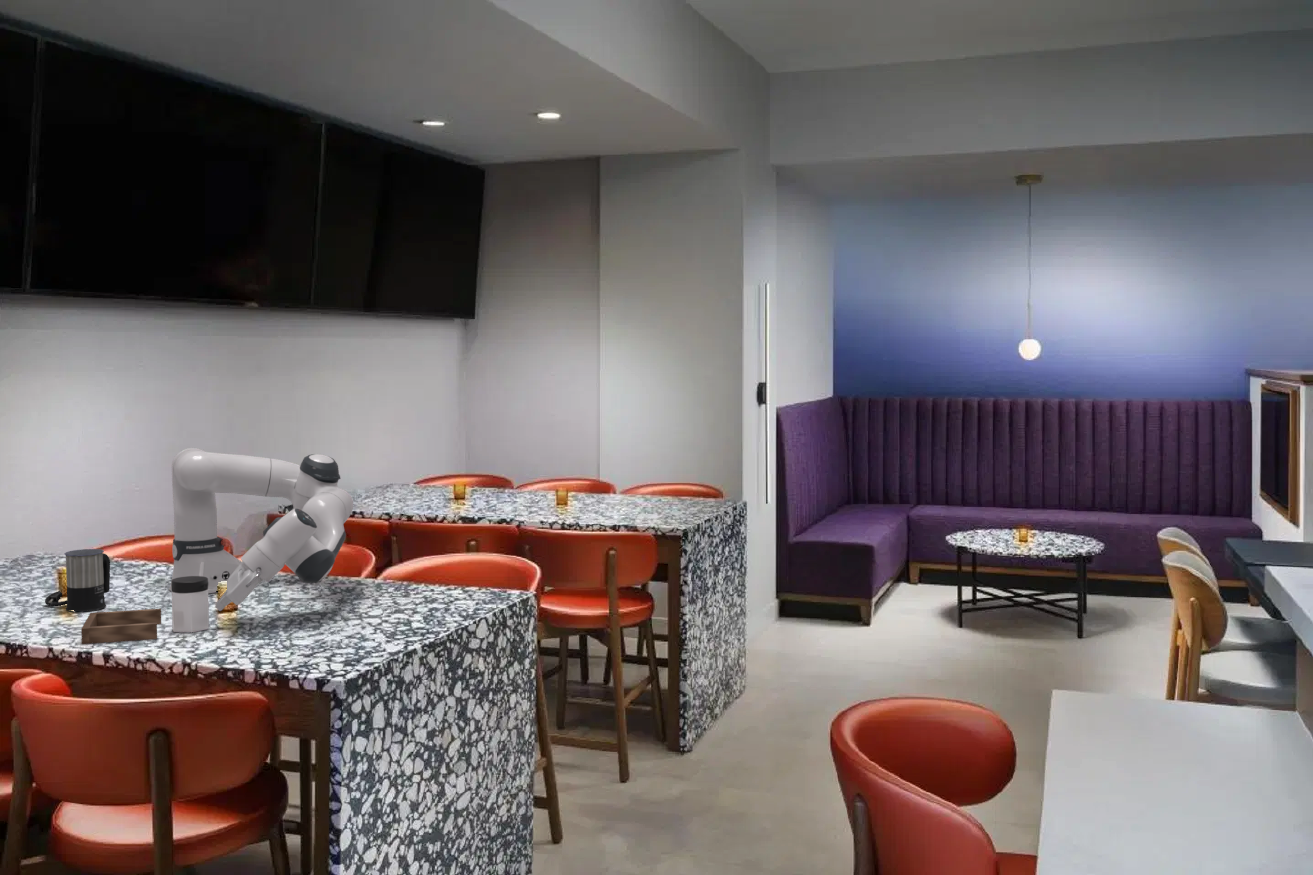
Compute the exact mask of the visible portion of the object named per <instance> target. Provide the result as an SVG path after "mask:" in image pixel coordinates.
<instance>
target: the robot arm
mask: <svg viewBox="0 0 1313 875" xmlns="http://www.w3.org/2000/svg"><path fill="white" fill-rule="evenodd" d="M339 480H341V475H340V471H339V465H338V463H337V461H336V459H334V458H333V457H330V456H329V455H325V454H321V453H313V454H307V456H305V457H304V458H303V459H302V461H301V463H300V464H297V463H295V462H291V461H288V460H282V459H280V458H279V459H278V458H271V457H263V456H255V455H254V456H253V455H247V454H236V453H235V454H234V453H233V454H231V453H219V452H211V451H209V452H208V451H205V450H204V449H201V448H196V447H188V448H185V449H183V450H181V451H179V452H178V453H177V454H176V455H175V456H174V458H173V460H172V462H171V481H172V483H171V484H172V485H171V487H172V499H173V501H172V502H173V519H174V520H173V521H174V522H173V524H174V526H173V528H174V529H173V530H174V538H173V540H172V559H173V568H172V578H171V580H172V579H175V578H179V577H186V576H203V577H207V578H208V594H214V593H217V592H216V590H217V585H218V582H221V581H227V590H226V591H224V593H223V594H222V596H220V598H219V599H218V600H217V601H216V602H215V609H217V610H218V611H219V612H221V611H223V609H225V607H227V606H228V605H230V604H231V603H233V604H234V605H236V606H239V605H240V604H241V603H243V602H244V601H245V600H246V599H247V598H248V596H249V595H250V594H251V593H252V592H253V591H254V590H255V589H256V588H257V587H258V586H259V585H260V584H261V583H262V582H263V581H264V582H266V583H269V582H271V581H272V579H274V577H275V576H276V575H277V574H278V573H279V572H280V571H281V570H282V569H283V568H284V567H285V566H286V567H288V569H290V570H291V572H293V573H294V574H295V576H296V577H297V578H298V579H299V580H300V581H301V583H303V584H317V583H319V582H321V581H322V580H324V579H325V578H326V577H327V576H328V575H329V573H330V572H331V570H332V568H333V567H334V564H335V562H336V558H337V556H338V554H339V552H340V550H341V549H342V546H343V545H344V542H345V540H346V536H347V533H346V530H345V527H344V524H345V523H346V521H347V520H348V519H349V518H350V516H351V515H352V512H353V509H354V500H353V498H352V496H351V494H350V493H349V492H348V491H346V490H345V489H343V488H340V487H339V486H338V483H339ZM216 494H234V495H235V494H237V495H244V496H245V495H246V496H255V497H257V496H258V497H264V498H265V497H267V498H282V499H283V498H284V499H287V500H289V501H290V502H291V504H289V505H287V506H286V509H287V511H288V512H287V513H286V514H284V515H283V516H281V517H280V516H279V517H276V518H274V520H273V521H272V522H271V523H270V524H269V525H268V526H266V528H265V529H264V530H263V531H262V533H263V534H262V535H263V536H262V538H261V539H259V540H258V541H257V542H255V543H254V544H253V545H252V546H251V547H249V549H248V550H247V551H246V552H245V553H244V554H243V555H242V556H241V557H240V559H241V560H240V559H239V558H237V557H235V556H234V555H233V554H231V553H230V552H228V551H227V550H225V549H224V548H225V547H230V545H231V540H229V539H226V538H222V537H219V536H218V524H217V523H218V515H217V513H218V512H217V510H218V508H217V501H216V500H217V499H216ZM168 590H169V591H170V592H172V590H171V583H170V586H169V588H168Z"/></svg>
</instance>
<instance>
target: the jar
mask: <svg viewBox="0 0 1313 875" xmlns="http://www.w3.org/2000/svg"><path fill="white" fill-rule="evenodd" d="M170 581H171V582H170V584H171V590H172V591H171V622H172V624H171V626H172V627H171V628H172V632H174V633H185V632H191V634H192V632H193V633H196V632H201V631H206V630H209V629H210V609H209V608H210V603H209V602H210V600H209V593H208V578H207V577H203V576H186V577H179V578H175V579H172V578H171V580H170Z"/></svg>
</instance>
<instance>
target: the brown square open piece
mask: <svg viewBox="0 0 1313 875" xmlns="http://www.w3.org/2000/svg"><path fill="white" fill-rule="evenodd" d="M161 624H162V608H149V609H148V608H147V609H145V608H144V609H134V610H133V609H132V610H116V611H101V612H99V611H98V612H90V613H89V615H88V616H87V618H86V620H85V622H84V623H83V625H82V627H81V631H80V632H81V633H80V634H81V645H89V644H91V645H92V644H104V642H106V643H117V642H119V643H121V642H130V641H131V642H132V641H143V640H144V641H147V640H157V639H158V625H161Z"/></svg>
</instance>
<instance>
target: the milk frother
mask: <svg viewBox="0 0 1313 875" xmlns="http://www.w3.org/2000/svg"><path fill="white" fill-rule="evenodd" d="M104 551H105V550H104V549H100V548H86V549H73V550H68V551H66V552H64V555H65V568H66V569H65V570H66V571H65V572H66V573H65V575H66V576H65V577H66V589H67V594H66V600H62V601H60V600H61V597H62V598H63V595H62V593H61V592H60V590H58V591H55V592H53V593H50V594H48V595H47V596H46V597H45V599H44V604H45V605H47V606H50V607H62V606H61V605H64V606H66V608H65V610H66V611H67V610H74V611H87V612H93V610H95V611H100V610H102V609H105V608H107V604H106V599H105V594H106V593H107V594H108V592H110V586H111V582H110V580H111V561H110V556H109V555H108V554H106V553H104ZM65 604H67V605H65Z"/></svg>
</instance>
